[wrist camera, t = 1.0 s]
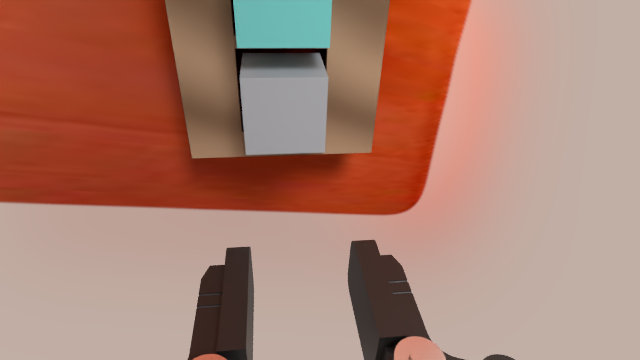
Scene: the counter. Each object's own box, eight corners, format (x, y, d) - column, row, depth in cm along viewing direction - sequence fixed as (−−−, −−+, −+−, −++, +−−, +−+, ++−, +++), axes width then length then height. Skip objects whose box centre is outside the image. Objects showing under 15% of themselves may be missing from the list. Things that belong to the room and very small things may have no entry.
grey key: (242, 53, 24) (239, 78, 20) (319, 52, 24) (328, 77, 21) (247, 122, 26) (245, 155, 23) (317, 120, 27) (324, 152, 23)
